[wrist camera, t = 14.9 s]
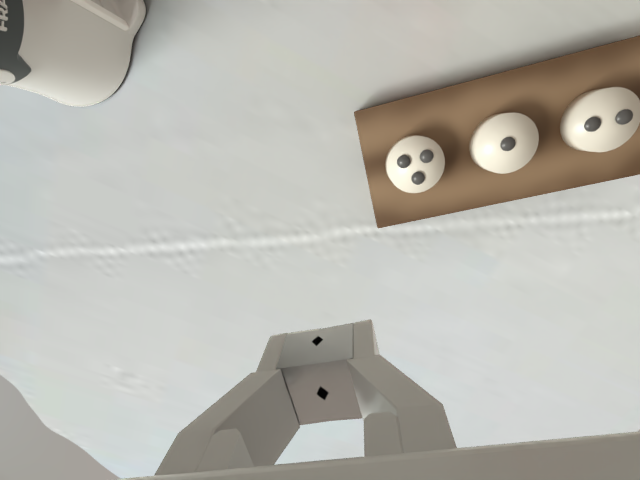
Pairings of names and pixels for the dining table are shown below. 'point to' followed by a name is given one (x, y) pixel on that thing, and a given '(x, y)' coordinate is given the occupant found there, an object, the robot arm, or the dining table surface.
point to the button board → (489, 99)
